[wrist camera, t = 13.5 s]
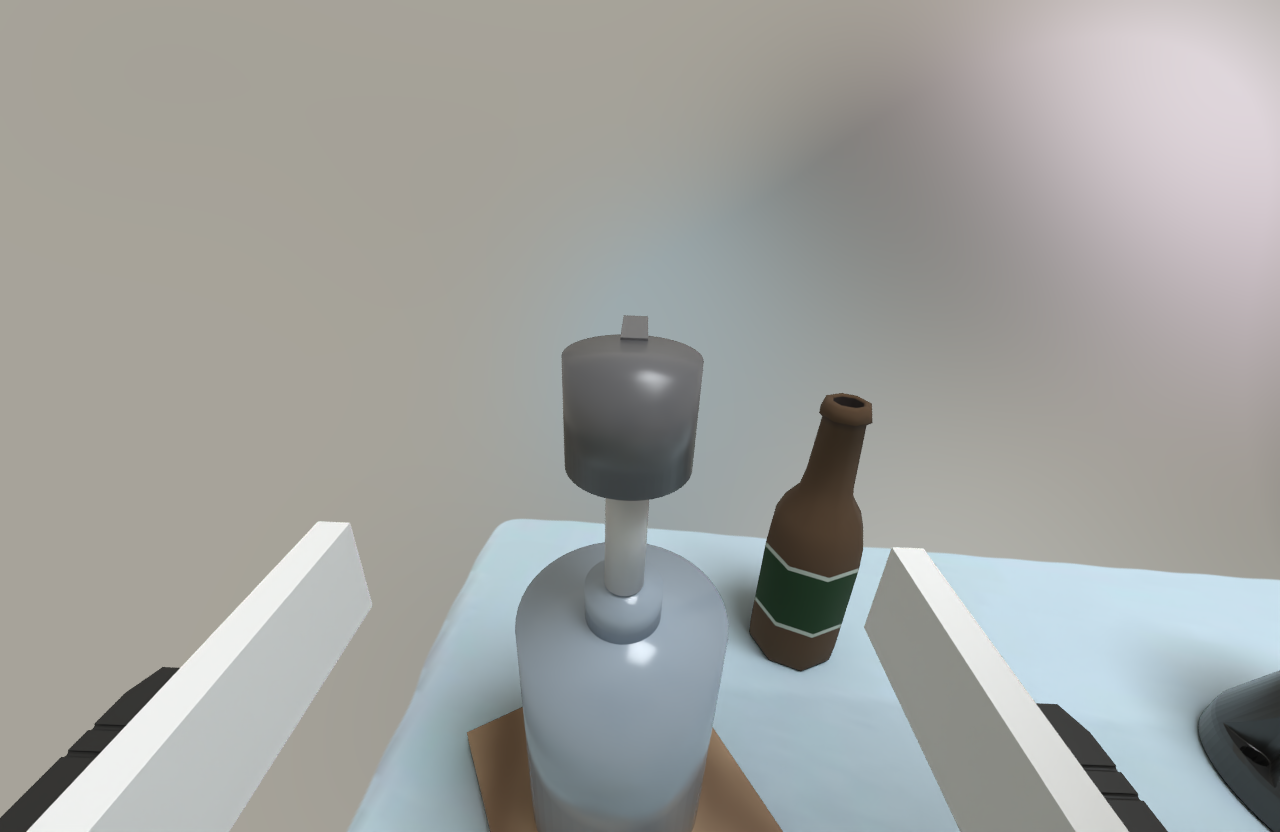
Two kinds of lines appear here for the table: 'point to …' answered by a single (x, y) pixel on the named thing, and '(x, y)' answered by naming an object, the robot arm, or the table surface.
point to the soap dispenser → (619, 692)
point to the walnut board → (724, 828)
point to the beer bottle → (814, 545)
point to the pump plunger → (629, 433)
